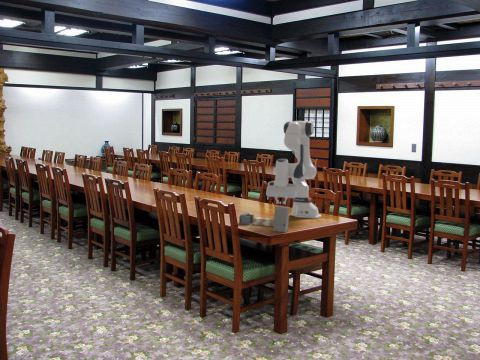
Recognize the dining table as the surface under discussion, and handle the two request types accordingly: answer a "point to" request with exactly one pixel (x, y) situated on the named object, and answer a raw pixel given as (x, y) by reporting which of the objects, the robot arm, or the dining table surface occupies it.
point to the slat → (263, 221)
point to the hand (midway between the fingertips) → (280, 203)
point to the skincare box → (281, 218)
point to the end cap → (246, 218)
